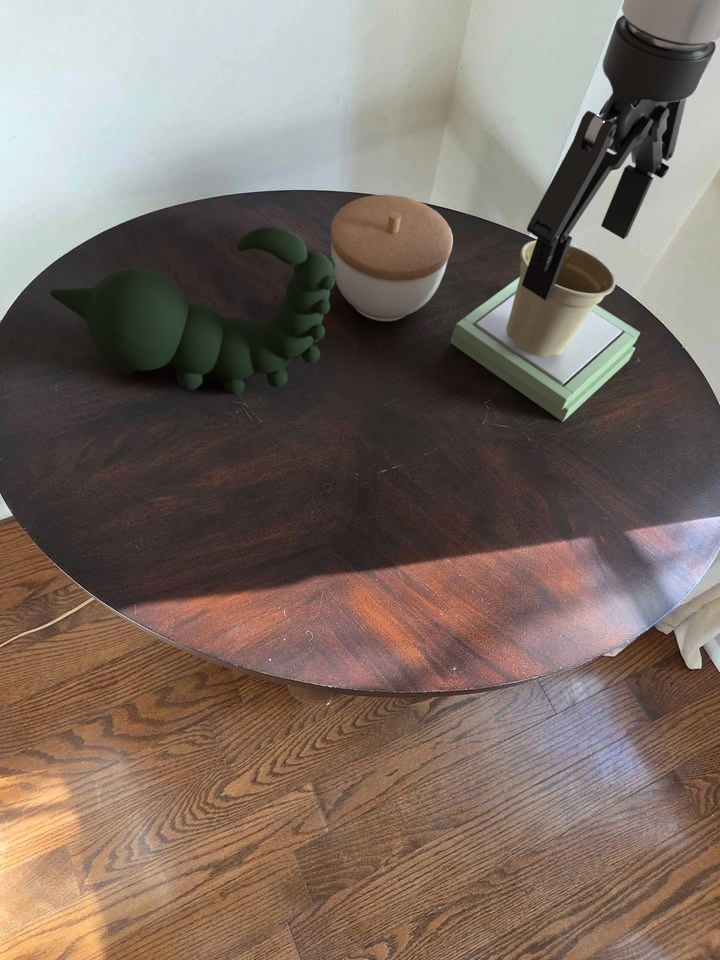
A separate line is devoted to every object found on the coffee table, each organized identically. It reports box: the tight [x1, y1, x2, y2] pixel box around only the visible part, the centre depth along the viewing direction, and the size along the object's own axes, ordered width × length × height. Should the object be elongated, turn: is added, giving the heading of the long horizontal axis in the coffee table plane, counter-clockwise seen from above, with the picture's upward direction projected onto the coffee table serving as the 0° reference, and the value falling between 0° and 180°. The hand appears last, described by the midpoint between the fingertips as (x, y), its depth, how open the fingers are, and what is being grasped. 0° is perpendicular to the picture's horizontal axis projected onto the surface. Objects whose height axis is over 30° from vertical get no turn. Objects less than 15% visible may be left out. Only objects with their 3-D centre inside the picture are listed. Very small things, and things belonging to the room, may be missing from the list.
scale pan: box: [475, 294, 622, 387], centre depth 82 cm, size 11×11×2 cm
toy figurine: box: [49, 226, 336, 396], centre depth 71 cm, size 9×19×25 cm
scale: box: [450, 276, 641, 423], centre depth 83 cm, size 15×14×4 cm
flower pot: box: [506, 239, 617, 357], centre depth 76 cm, size 9×9×9 cm
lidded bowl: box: [330, 194, 454, 322], centre depth 83 cm, size 13×13×11 cm
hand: (576, 260), depth 74 cm, fingers open, 13 cm apart
